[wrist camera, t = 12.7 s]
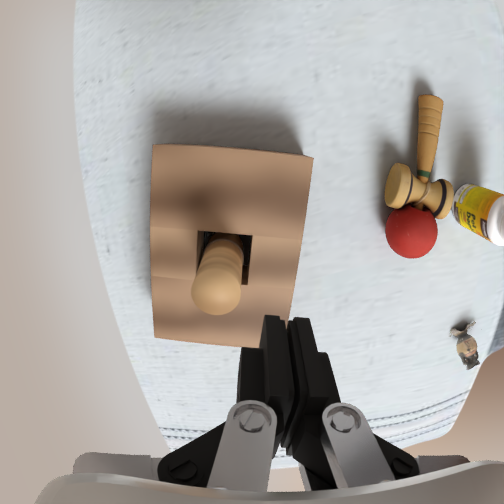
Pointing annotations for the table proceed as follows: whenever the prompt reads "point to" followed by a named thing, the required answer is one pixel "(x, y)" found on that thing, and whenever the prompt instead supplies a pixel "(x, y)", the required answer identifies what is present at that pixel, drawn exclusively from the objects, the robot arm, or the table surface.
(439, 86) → the table surface
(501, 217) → the supplement bottle
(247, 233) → the seat board
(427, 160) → the kendama
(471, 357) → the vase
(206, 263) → the oak peg
